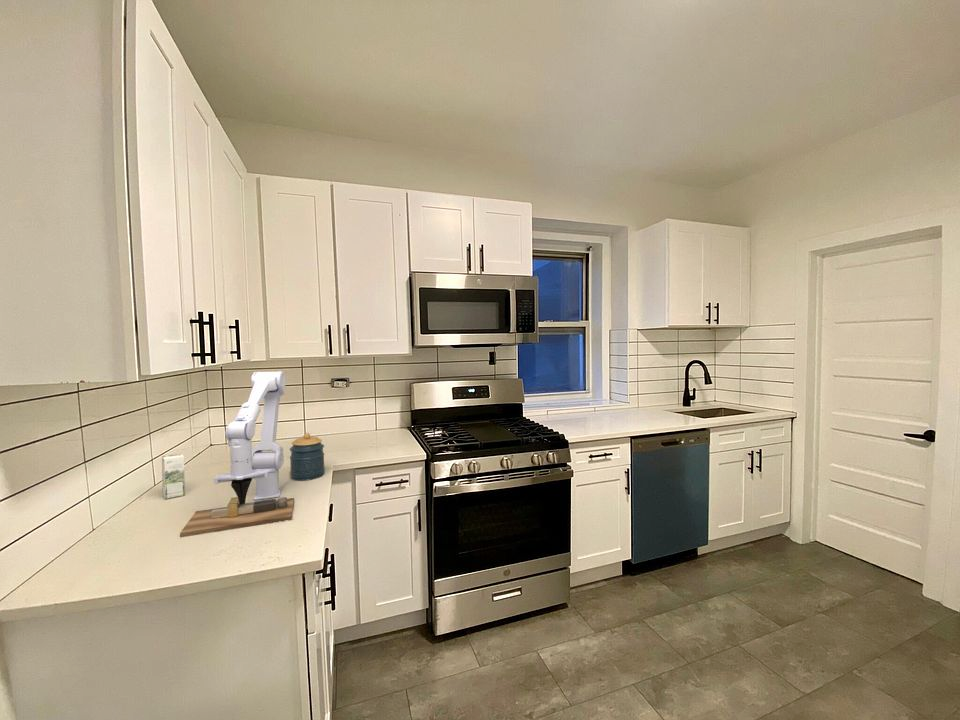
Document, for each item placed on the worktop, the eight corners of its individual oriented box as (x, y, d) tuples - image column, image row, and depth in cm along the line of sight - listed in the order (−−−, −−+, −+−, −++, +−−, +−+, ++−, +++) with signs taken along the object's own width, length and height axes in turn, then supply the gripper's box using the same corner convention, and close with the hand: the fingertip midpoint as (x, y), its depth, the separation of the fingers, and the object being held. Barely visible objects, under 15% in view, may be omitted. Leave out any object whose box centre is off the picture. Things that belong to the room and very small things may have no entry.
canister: (286, 482, 156) (285, 437, 156) (294, 472, 169) (293, 430, 168) (321, 479, 159) (320, 435, 158) (327, 469, 172) (326, 429, 171)
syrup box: (182, 491, 147) (181, 452, 147) (185, 495, 143) (184, 455, 142) (162, 495, 143) (161, 455, 143) (165, 500, 139) (163, 458, 138)
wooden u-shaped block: (231, 510, 126) (231, 497, 126) (240, 508, 127) (240, 496, 127) (227, 517, 121) (227, 504, 121) (237, 516, 122) (237, 503, 122)
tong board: (196, 514, 126) (195, 503, 126) (294, 501, 137) (293, 490, 137) (180, 537, 111) (179, 523, 111) (291, 519, 122) (291, 507, 122)
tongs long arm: (212, 516, 122) (212, 509, 122) (275, 507, 128) (275, 501, 128) (211, 518, 120) (211, 511, 120) (275, 509, 126) (274, 503, 126)
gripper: (210, 465, 118) (212, 511, 118) (266, 460, 123) (267, 503, 124) (216, 459, 124) (217, 503, 125) (268, 454, 130) (269, 496, 130)
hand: (242, 503), depth 125 cm, fingers closed
